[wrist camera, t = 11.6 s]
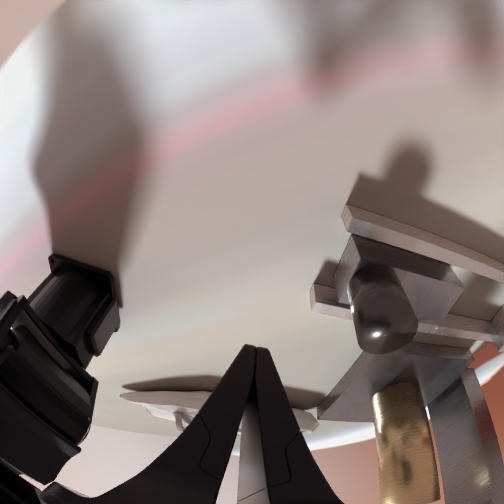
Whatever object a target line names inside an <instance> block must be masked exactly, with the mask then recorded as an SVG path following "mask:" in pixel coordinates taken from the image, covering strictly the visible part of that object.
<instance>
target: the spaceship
mask: <svg viewBox="0 0 504 504" xmlns="http://www.w3.org/2000/svg"><path fill="white" fill-rule="evenodd" d="M211 393H212V392H208V391H193V392H177V391H152V392H129V393H123V394H120V397H121V398H122V399H125V400H128V401H130V402H133V403H135V404H137V405H141V406H144V407H145V408H146V411H147V412H150V414H152V415H154V416H157V417H160V418H164V419H169V420H173V421H176V426H177V429H178V431H180V432H181V433H182V432H183V431H184V430H185V428H184V427H183V426H182V423H184V424H186V425H189V424H190V422H191V421H192V420H193V418H194V417H195V415H196V414H198V411H199V410H200V409H201V407H202V406H203V404H204V403H205V402H206V400H207V399H208V397H209V396H210V394H211ZM292 410H293V412H294V415H295V417H296V420H297V422H298V425H299V427H300V431H301V432H302V434H303V435H306V434H309V433H312V432H313V431H314V430H315V429H316V428H317V427H318V426H319V423H318V422H317V420H316V419H315V418H314V416H313V415H312V414H311V413H309V412H306V411H303V410H300V409H295V408H292ZM241 427H242V420H241V423H240V426H239V430H238V434H241ZM300 431H299V432H300Z"/></svg>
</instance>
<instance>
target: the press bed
mask: <svg viewBox="0 0 504 504" xmlns="http://www.w3.org/2000/svg"><path fill="white" fill-rule="evenodd" d="M473 361H474V358H473V356H472V353H471V351H470V349H468V348H458V347H448V346H439V345H431V344H423V343H416V342H408V343H407V344H406V345H405V346H403V347H402V348H400V349H398V350H396V351H393V352H390V353H386V354H370V353H367V352H365V351H363V353H362V354H361V355H360V357H359V358H358V359H357V361H356V362H355V363H354V365H353V366H352V367H351V368H350V370H349V371H348V372H347V373H346V375H345V376H344V377H343V378H342V379H341V381H340V382H339V383H338V384H337V385H336V387H335V388H334V389H333V390H332V391H331V392H330V394H329V395H328V396H327V397H326V398H325V399H324V400H323V402H322V403H321V404H320V405H319V406H318V407H317V420H330V421H348V422H374V418H373V410H372V403H371V400H372V398H373V397H374V395H375V394H377V393H378V392H379V391H381V390H382V389H384V388H386V387H389V386H391V385H394V384H397V383H401V382H416V383H418V384H419V386H420V389H421V393H422V396H423V400H424V405H425V407H426V406H428V410H429V414H430V418H431V422H432V427H433V431H434V436H435V440H436V446H437V451H438V456H439V461H440V468H441V474H442V481H443V489H444V498H445V504H504V464H503V459H502V455H501V451H500V447H499V443H498V440H497V435H496V432H495V429H494V425H493V422H492V418H491V415H490V412H489V409H488V406H487V403H486V400H485V398H484V395H483V392H482V389H481V387H480V384H479V381H478V379H477V376H476V374H475V372H474V369H473V368H467V367H468V366H469V365H470V364H471V363H472V362H473Z"/></svg>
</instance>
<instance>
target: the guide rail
mask: <svg viewBox="0 0 504 504" xmlns="http://www.w3.org/2000/svg"><path fill="white" fill-rule="evenodd" d="M341 218H342V220H343V223H344V225H345V228H346V230H347V232H350V233H354V234H357V235H360V236H364V237H367V238H371V239H374V240H377V241H380V242H384V243H387V244H390V245H393V246H397V247H400V248H403V249H406V250H409V251H412V252H415V253H418V254H422V255H425V256H428V257H431V258H434V259H437V260H440V261H443V262H445V263H448V264H451V265H454V266H457V267H460V268H463V269H466V270H468V271H471V272H474V273H477V274H479V275H482V276H485V277H488V278H490V279H493V280H496V281H498V282H501V283H503V284H504V264H503V263H501V262H498V261H496V260H494V259H492V258H490V257H487V256H485V255H483V254H481V253H478V252H476V251H474V250H471V249H469V248H466V247H464V246H462V245H459V244H457V243H454V242H452V241H449V240H447V239H444V238H442V237H439V236H437V235H434V234H431V233H429V232H426V231H424V230H421V229H418V228H415V227H413V226H410V225H407V224H404V223H402V222H399V221H396V220H393V219H390V218H387V217H384V216H381V215H378V214H375V213H372V212H369V211H366V210H363V209H360V208H357V207H354V206H351V205H347V204H346V205H345V208H344V211H343V213H342V216H341ZM310 305H311V312H315V313H320V314H325V315H330V316H335V317H340V318H345V319H350V320H353V316H352V312H351V308H350V305H349V304H345V303H340V302H338V297H337V292H336V289H335V288H331V287H327V286H322V285H318V284H313V286H312V288H311V291H310ZM417 320H418V329H417V331H418V332H424V333H430V334H437V335H444V336H451V337H458V338H466V339H473V340H481V341H490V342H494V344H495V346H496V348H497V350H498V351H499V352H503V351H504V305H503V306H502V308H501V309H500V310H499V312H498V313H497V314H496V316H495V317H494V319H493V320H492V321H491V322H488V321H483V320H478V319H473V318H468V317H463V316H458V315H453V314H449V313H447V315H446V316H445V317H444V319H443V320H442V322H441V323H440V322H435V321H430V320H424V319H419V318H417Z"/></svg>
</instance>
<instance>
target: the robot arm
mask: <svg viewBox="0 0 504 504" xmlns="http://www.w3.org/2000/svg"><path fill="white" fill-rule="evenodd" d="M48 260H49V264H50V269H51V274H50V275H49V276H48V277H47V278H46V279H45V280H44V281H43V282H42V283H41V284H40V285H39V286H38V288H37V289H36V290H35V291H34V292H33V293H32V294H31V295H30V296H29V298H28V299H26V297H25V296H24V295H21V296H19V297H16V295H14V294H12V293H11V292H10V291H6V292H5V293H4V294H3V295H2V296H1V297H0V504H216V500H217V496H218V493H219V489H220V486H221V483H222V480H223V477H224V474H225V471H226V467H227V465H228V462H229V458H230V455H231V452H232V449H233V446H234V443H235V439H236V436H237V433H238V430H239V426H240V423H241V420H242V427H241V444H240V461H239V478H238V497H237V501H238V502H237V504H344V503H343V502H342V501H341V500H340V499H339V498H338V497H337V496H336V494H335V493H334V492H333V490H332V489H331V487H330V485H329V484H328V482H327V481H326V479H325V477H324V475H323V474H322V472H321V471H320V469H319V467H318V465H317V464H316V462H315V460H314V458H313V456H312V454H311V452H310V450H309V448H308V446H307V444H306V441H305V439H304V437H303V434H302V432H301V431H300V427H299V425H298V422H297V420H296V417H295V415H294V412H293V410H292V407H291V405H290V402H289V400H288V397H287V395H286V392H285V390H284V387H283V385H282V382H281V380H280V377H279V375H278V372H277V369H276V367H275V364H274V362H273V359H272V357H271V354H270V351H269V350H268V349H267V348H263V347H257V348H256V346H254V345H249V344H245V345H244V346H243V347H242V349H241V350H240V352H239V353H238V355H237V356H236V358H235V359H234V361H233V362H232V364H231V365H230V367H229V368H228V370H227V371H226V373H225V374H224V376H223V377H222V379H221V380H220V381H219V383H218V384H217V386H216V387H215V389H214V390H213V392H212V393H211V394H210V396H209V397H208V399H207V400H206V402H205V403H204V404H203V406H202V407H201V409H200V410H199V411H198V414H196V415H195V417H194V418H193V420H192V421H191V422H190V424H189V425H188V426H187V427H186V429H185V430H184V431H183V432H182V433H181V435H180V436H179V437H178V438H177V439H176V440H175V441H174V442H173V443H172V444H171V445H170V446H169V447H168V448H167V449H166V450H165V451H164V452H163V453H162V454H160V455H159V457H157V458H156V459H155V460H154V461H153V462H152V463H151V464H150V465H149V466H147V467H146V468H145V469H144V470H143V471H141V472H140V473H139V474H137V475H136V476H134V477H133V478H131V479H129V480H128V481H126V482H124V483H122V484H121V485H119V486H117V487H115V488H113V489H111V490H110V491H108V492H106V493H104V494H102V495H100V496H98V497H93V498H91V497H89V496H86V495H84V494H81V493H79V492H77V491H75V490H72V489H70V488H68V487H66V486H64V485H61V484H59V483H57V482H52V481H54V480H55V479H56V477H57V475H58V474H59V472H60V470H61V469H62V467H63V466H64V465H65V463H66V462H67V461H68V460H70V458H71V457H73V456H75V455H76V454H78V453H80V452H81V448H80V447H79V446H78V445H79V444H80V443H81V442H82V441H83V440H84V439H85V438H86V436H87V435H88V432H89V430H90V427H91V422H92V416H93V410H94V404H95V399H96V393H97V388H98V383H99V382H98V381H97V380H96V379H95V378H94V377H92V376H91V375H90V374H89V373H88V372H87V371H86V368H87V366H88V365H89V363H90V361H91V359H92V357H93V356H96V357H98V356H100V355H101V353H102V351H103V349H104V347H105V346H106V344H107V342H108V340H109V339H110V337H111V335H112V334H113V332H117V331H118V330H119V328H120V326H119V321H120V320H119V314H118V307H117V301H116V298H115V291H114V282H113V276H112V275H111V274H110V273H109V272H107V271H104V270H101V269H98V268H95V267H92V266H89V265H86V264H83V263H80V262H77V261H74V260H71V259H68V258H65V257H63V256H60V255H57V254H54V253H52V254H51V255H50V256H49V257H48ZM106 278H107V279H106ZM11 327H12V328H13V329H12V330H11V329H10V328H11ZM299 431H300V432H299ZM21 474H24V475H26V476H28V477H29V478H31V479H33V480H34V481H36V482H38V483H40V484H41V485H46V484H48V483H50V482H52V483H51V484H50V485H49V486H48V487H47V488H45V489H44V490H43V491H42V492H41V490H40V489H38V488H37V487H35V486H34V485H32V484H30V483H29V482H28V481H26V480H25V479H23V478H22V477H21V476H19V475H21Z"/></svg>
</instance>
